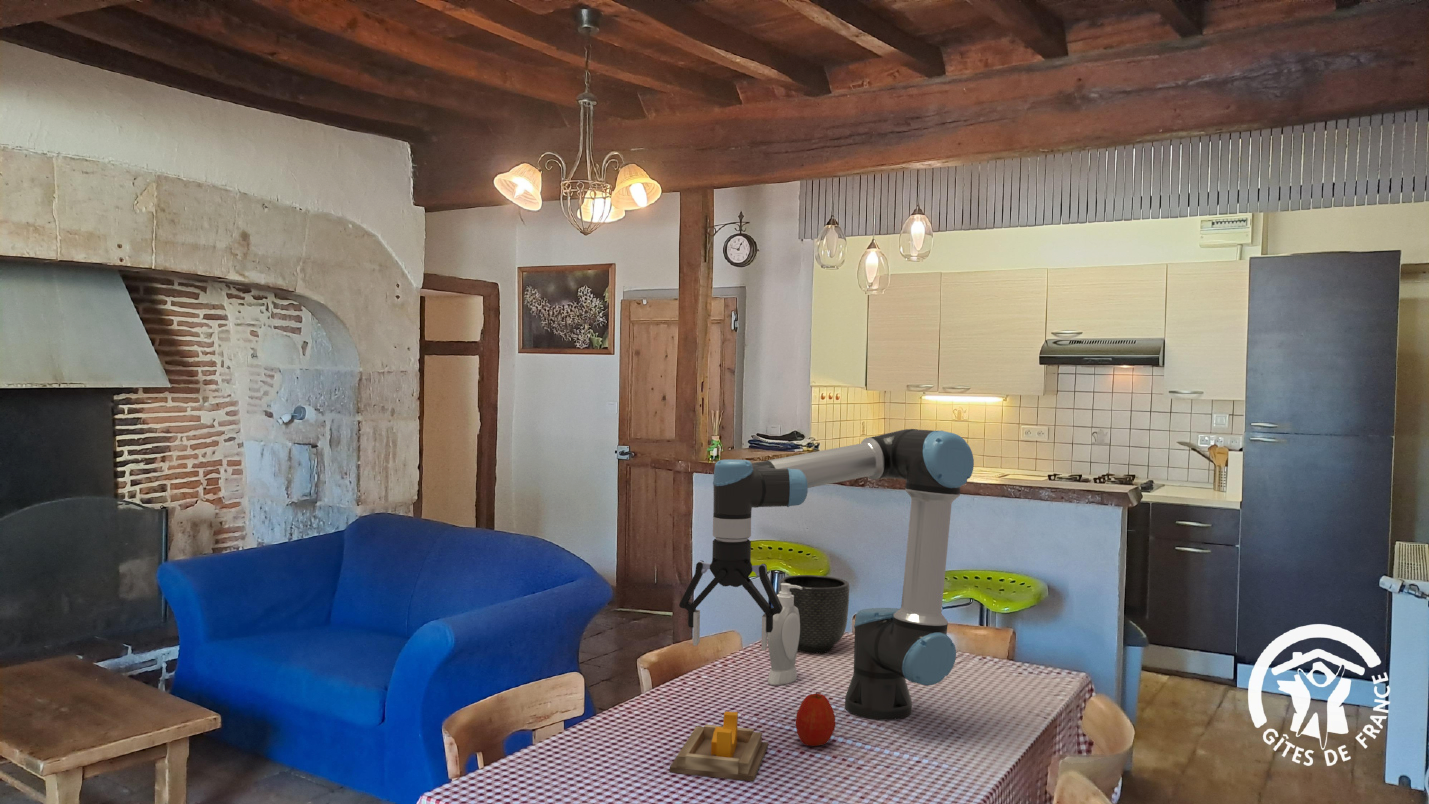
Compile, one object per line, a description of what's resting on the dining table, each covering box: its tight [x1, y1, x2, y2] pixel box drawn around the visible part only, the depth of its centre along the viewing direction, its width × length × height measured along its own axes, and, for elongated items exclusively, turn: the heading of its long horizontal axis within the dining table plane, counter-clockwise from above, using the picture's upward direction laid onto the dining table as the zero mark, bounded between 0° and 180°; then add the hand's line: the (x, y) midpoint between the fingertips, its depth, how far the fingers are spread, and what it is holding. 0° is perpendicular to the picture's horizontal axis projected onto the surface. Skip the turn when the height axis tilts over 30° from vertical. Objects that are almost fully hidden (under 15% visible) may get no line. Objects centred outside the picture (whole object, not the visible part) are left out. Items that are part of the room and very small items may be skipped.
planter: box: [778, 574, 850, 654], centre depth 274 cm, size 20×20×19 cm
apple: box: [795, 691, 836, 747], centre depth 199 cm, size 8×8×11 cm
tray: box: [669, 723, 769, 782], centre depth 189 cm, size 16×18×3 cm
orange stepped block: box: [711, 711, 739, 758], centre depth 189 cm, size 12×4×6 cm, turn 172°
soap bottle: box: [767, 583, 803, 686], centre depth 241 cm, size 13×8×24 cm, turn 139°
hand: (730, 646), depth 191 cm, fingers open, 13 cm apart
